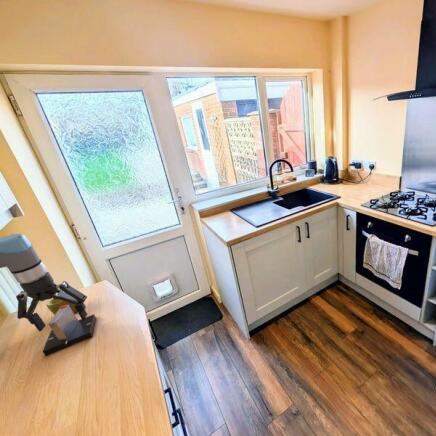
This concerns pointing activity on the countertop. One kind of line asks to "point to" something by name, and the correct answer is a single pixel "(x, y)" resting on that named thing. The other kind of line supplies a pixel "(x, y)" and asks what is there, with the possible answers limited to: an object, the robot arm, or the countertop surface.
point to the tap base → (71, 336)
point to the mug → (59, 305)
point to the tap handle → (63, 323)
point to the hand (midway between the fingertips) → (64, 322)
